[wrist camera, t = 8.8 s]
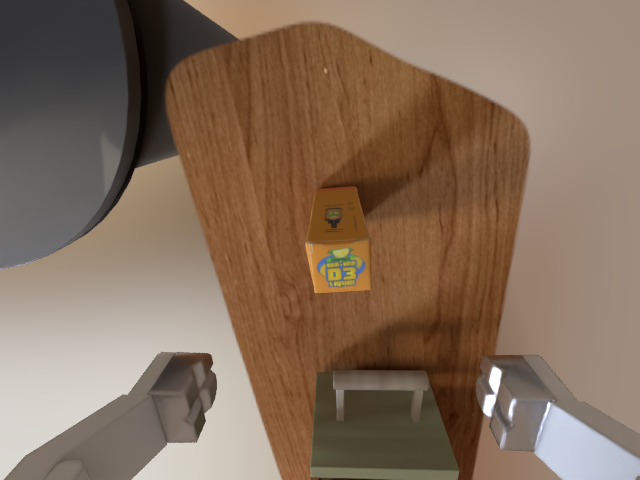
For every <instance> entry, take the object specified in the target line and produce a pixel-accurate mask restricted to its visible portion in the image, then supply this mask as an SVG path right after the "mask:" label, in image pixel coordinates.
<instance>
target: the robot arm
mask: <svg viewBox="0 0 640 480" xmlns="http://www.w3.org/2000/svg"><path fill="white" fill-rule="evenodd" d="M212 365H213V361H212V357H211V355H210V354H208V353H184V352H177V353H173V352H161V353H160V354H158V355H157V356H156V357H155V358H154V360H153V361H152V363H151V364H150V365H149V367H148V368H147V369H146V371H145V372H144V373H143V375H142V376H141V378H140V379H139V380H138V382H137V383H136V384H135V386H134V387H133V388H132V390H131V391H130V393H129V394H128V395H122V396H120V397H118V398H117V399H115V400H114V401H112V402H110V403H109V404H107V405H106V406H104V407H103V408H101V409H99V410H98V411H96V412H95V413H93V414H91V415H90V416H88V417H87V418H85V419H84V420H82V421H81V422H79V423H77V424H76V425H74V426H73V427H71V428H69V429H68V430H66V431H65V432H63V433H61V434H60V435H58V436H56V437H55V438H53V439H52V440H50V441H49V442H47V443H45V444H44V445H42V446H41V447H39V448H37V449H36V450H34V451H33V452H31V453H29V454H28V455H26V456H25V457H24V458H23V459H22V460H21V461H20V462H19V463H18V465H17V466H16V467H15V468H14V469H13V470H12V471H11V472H10V473H9V475H8V476H7V477H6V478H5V479H4V480H131V479H132V478H133V477H134V476H135V475H136V474H137V473H138V472H139V471H140V470H142V469H143V467H145V466H146V465H147V464H148V463H149V462H150V461H151V460H152V459H153V458H154V457H155V456H156V455H157V454H158V453H159V452H160V451H161V450H162V449H163V448H164V447H165V446H166V445H167V443H176V442H177V443H182V442H183V443H184V442H197V440H198V438H199V435H200V433H201V431H202V429H203V426H204V424H205V421H206V420H205V415H204V413H205V412H206V411H208V409H210V408H211V407H212V405H213V402H214V400H215V395H216V390H217V380H216V375H215V373H213V372H212V371H211V370H210V369H211V367H212ZM479 366H480V368H481V370H482V373H481V374H480V375H479V376H478V377H477V380H476V386H475V387H476V396H477V400H478V403H479V406H480V408H481V410H482V412H483V413H484V414H486V415H487V416H488V417H489V418H491V422H490V429H491V431H492V433H493V435H494V437H495V439H496V441H497V443H498V445H499V447H500V449H501V450H514V451H534V454H535V455H537V456H538V457H539V458H540V459H541V460H542V461H543V462H544V463H545V464H546V465H547V466H548V467H549V468H551V469H552V470H553V471H554V472H555V473H556V474H557V475H558V476H559V477H560V478H561V479H563V480H640V434H638V433H637V432H635V431H633V430H632V429H630V428H628V427H626V426H625V425H623V424H621V423H620V422H618V421H616V420H614V419H613V418H611V417H610V416H608V415H606V414H604V413H603V412H601V411H599V410H598V409H596V408H594V407H593V406H591V405H589V404H588V403H586V402H579V401H578V400H577V399H576V398H575V397H574V396H573V394H572V393H571V392H570V391H569V389H568V388H567V387H566V386H565V385H564V383H563V382H562V381H561V380H560V379H559V377H558V376H557V375H556V374H555V373H554V372H553V370H552V369H551V368H550V367H549V365H548V364H547V363H546V362H545V361H544V359H543V358H542V357H540V356H539V355H483V356H482V358H481V360H480V364H479Z"/></svg>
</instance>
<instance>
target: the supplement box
mask: <svg viewBox="0 0 640 480" xmlns="http://www.w3.org/2000/svg"><path fill="white" fill-rule="evenodd" d="M305 246H306V251H307V256H308V261H309V266H310V270H311V275H312V280H313V284H314V289H315V293H327V292H342V291H357V290H370V289H371V239H370V236H369V233H368V229H367V226H366V222H365V219H364V215H363V211H362V207H361V204H360V200H359V196H358V191H357V188H356V187H355V186H348V187H335V188H324V189H316V190H315V195H314V201H313V207H312V212H311V218H310V223H309V229H308V235H307V238H306V242H305Z"/></svg>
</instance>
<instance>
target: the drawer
mask: <svg viewBox="0 0 640 480" xmlns="http://www.w3.org/2000/svg"><path fill="white" fill-rule="evenodd" d="M310 470H311V477H318V478H322V480H458V476H459V468H458V465H457V462H456V459H455V456H454V453H453V450H452V447H451V444H450V441H449V438H448V435H447V432H446V429H445V426H444V424H443V421H442V418H441V415H440V412H439V409H438V406H437V403H436V400H435V397H434V394H433V391H432V388H431V385H430V382H429V379H428V376H427V373H426V371H413V370H333V373H324V372H318V373H317V379H316V393H315V407H314V421H313V435H312V449H311V463H310Z"/></svg>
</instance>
